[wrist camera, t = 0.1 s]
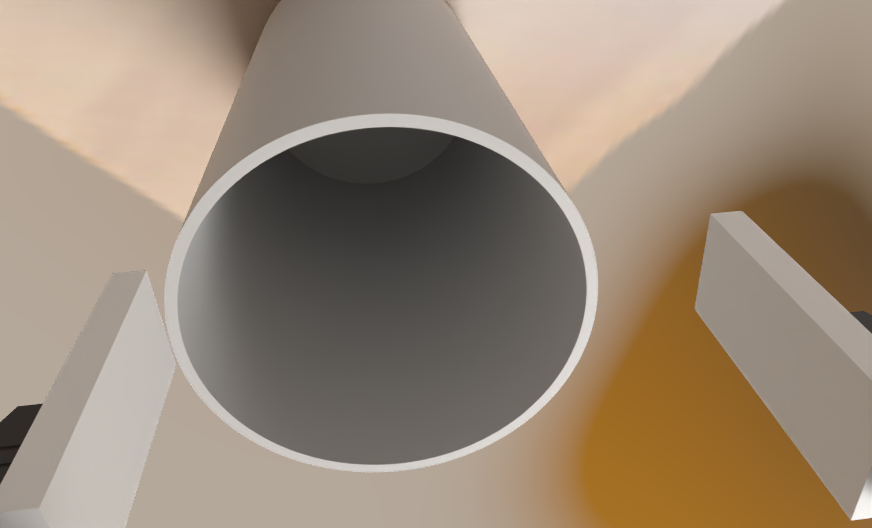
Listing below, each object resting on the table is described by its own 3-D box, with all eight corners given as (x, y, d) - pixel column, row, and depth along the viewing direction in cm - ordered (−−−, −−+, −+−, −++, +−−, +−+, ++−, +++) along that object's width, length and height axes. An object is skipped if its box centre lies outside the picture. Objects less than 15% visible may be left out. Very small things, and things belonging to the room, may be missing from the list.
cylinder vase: (215, 91, 42) (81, 360, 20) (343, -92, 37) (343, 6, 16) (383, 207, 47) (417, 519, 25) (512, 57, 43) (682, 281, 21)
